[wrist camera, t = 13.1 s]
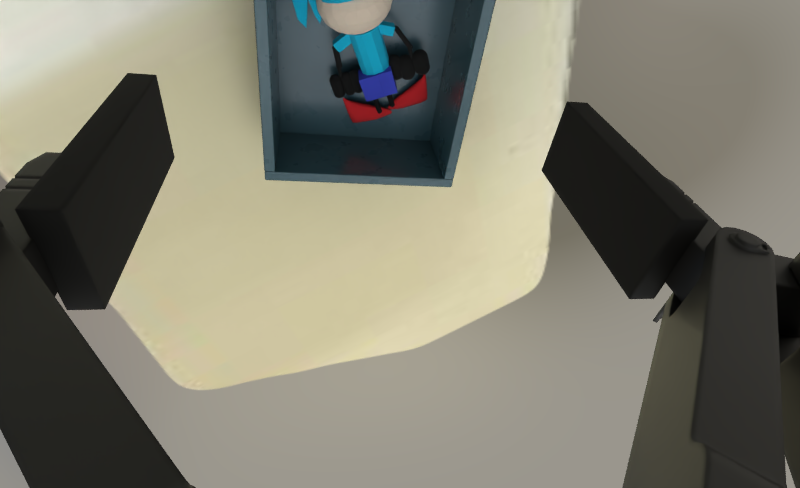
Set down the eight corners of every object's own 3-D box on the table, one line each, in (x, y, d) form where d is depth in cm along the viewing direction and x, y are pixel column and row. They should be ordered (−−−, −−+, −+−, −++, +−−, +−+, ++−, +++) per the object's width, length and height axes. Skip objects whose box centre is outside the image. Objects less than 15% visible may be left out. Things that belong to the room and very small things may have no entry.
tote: (254, -223, 24) (237, -244, 19) (497, -176, 26) (539, -182, 21) (272, 136, 37) (264, 180, 32) (434, 145, 39) (451, 187, 34)
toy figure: (433, 84, 37) (382, -152, 25) (442, 121, 33) (389, -128, 22) (343, 109, 38) (253, -107, 26) (344, 147, 34) (244, -78, 23)
